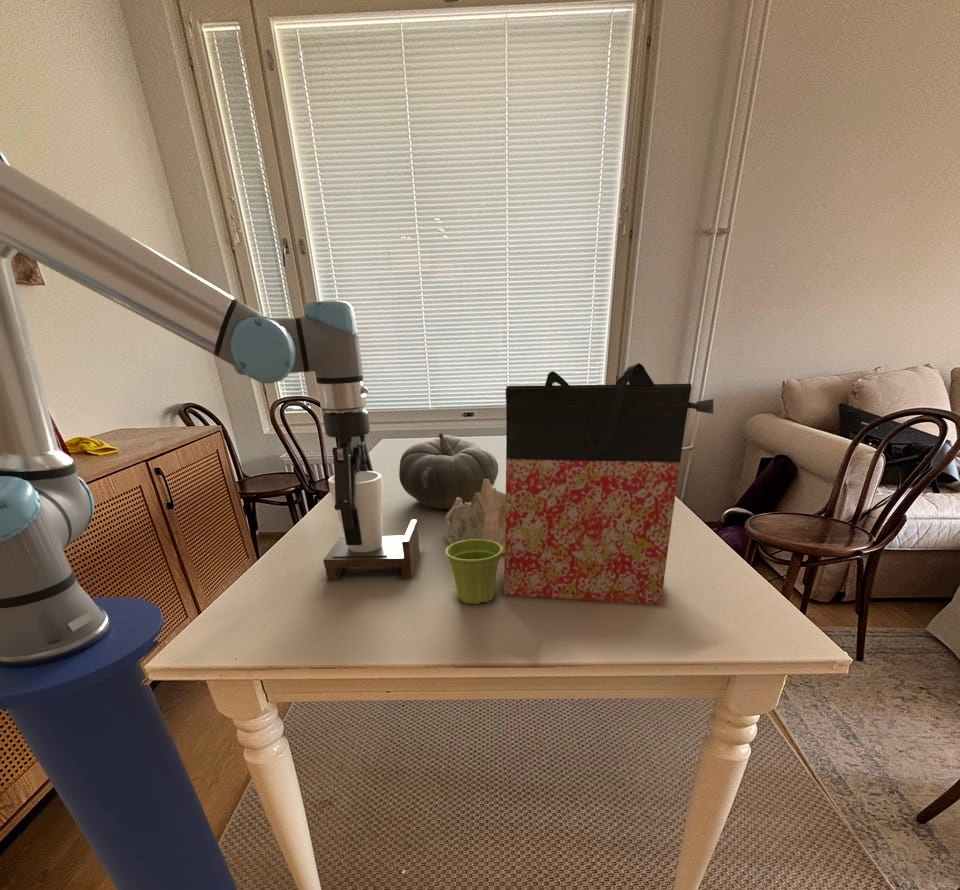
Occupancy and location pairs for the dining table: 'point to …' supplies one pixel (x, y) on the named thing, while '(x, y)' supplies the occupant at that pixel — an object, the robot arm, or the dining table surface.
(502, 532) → the ceramic cottage
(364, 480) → the foam cup
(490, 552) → the plant pot
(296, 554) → the dining table surface
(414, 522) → the shelf
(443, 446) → the gourd
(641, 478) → the gift bag
